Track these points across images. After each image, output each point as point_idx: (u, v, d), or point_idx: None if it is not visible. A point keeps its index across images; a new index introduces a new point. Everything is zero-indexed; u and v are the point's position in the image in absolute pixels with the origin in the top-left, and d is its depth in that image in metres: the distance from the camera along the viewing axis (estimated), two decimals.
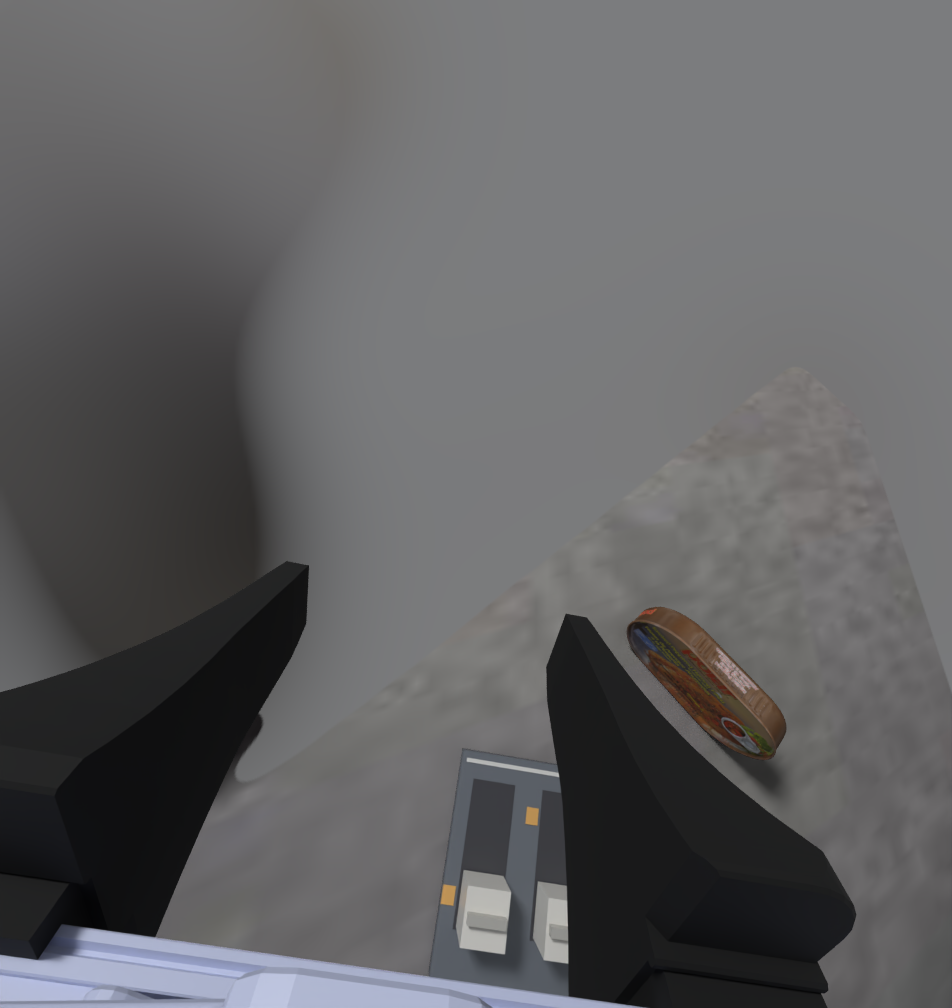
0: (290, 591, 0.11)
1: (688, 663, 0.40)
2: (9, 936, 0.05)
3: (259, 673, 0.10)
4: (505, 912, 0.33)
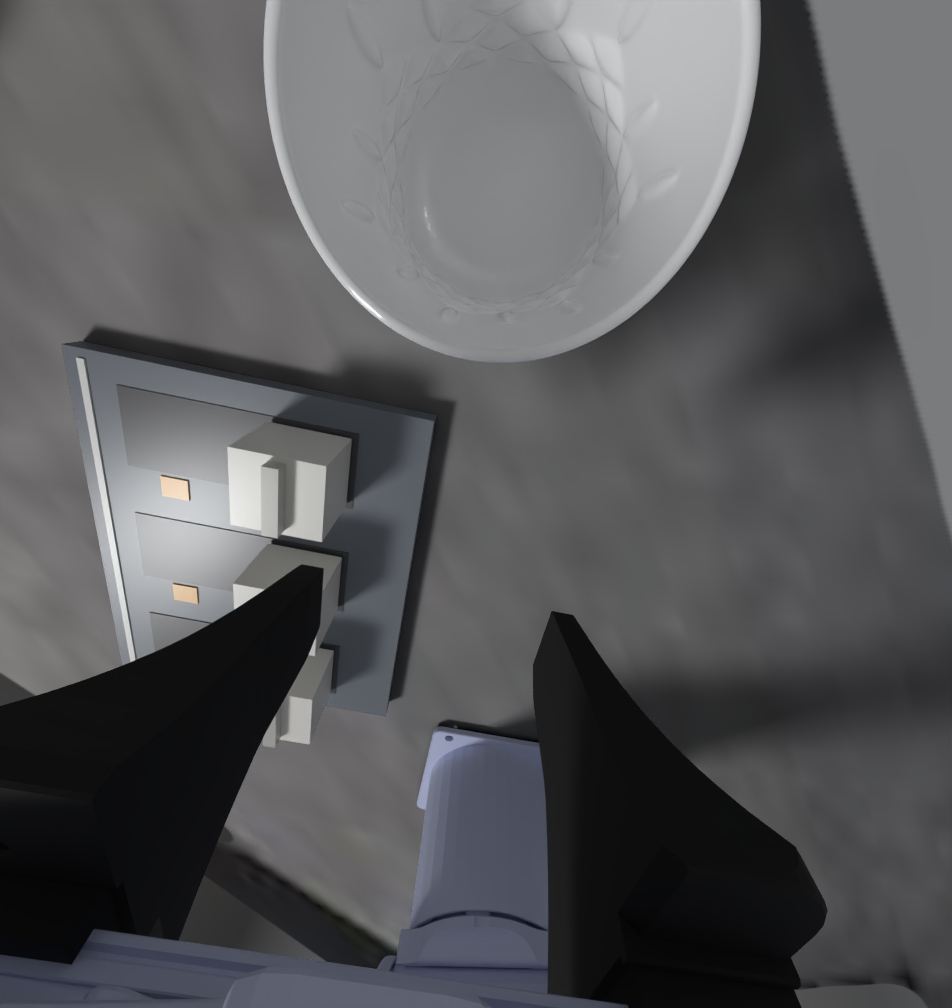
0: (307, 594, 0.11)
1: None
2: (44, 941, 0.05)
3: (277, 676, 0.10)
4: None
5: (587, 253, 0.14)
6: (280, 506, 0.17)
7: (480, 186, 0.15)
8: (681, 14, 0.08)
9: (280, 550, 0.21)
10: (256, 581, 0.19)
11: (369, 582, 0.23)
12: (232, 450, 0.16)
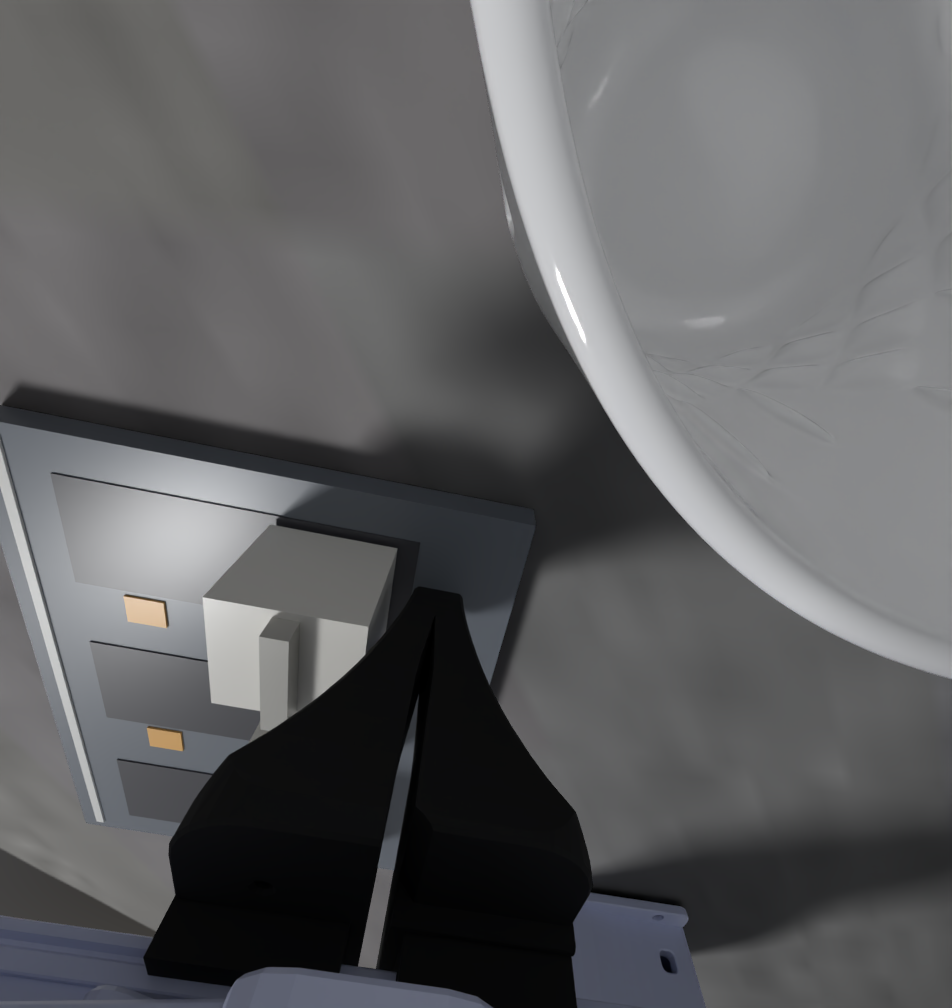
0: None
1: None
2: None
3: (413, 700, 0.11)
4: None
5: (903, 280, 0.07)
6: (291, 686, 0.10)
7: (669, 156, 0.08)
8: None
9: None
10: None
11: None
12: (211, 602, 0.10)
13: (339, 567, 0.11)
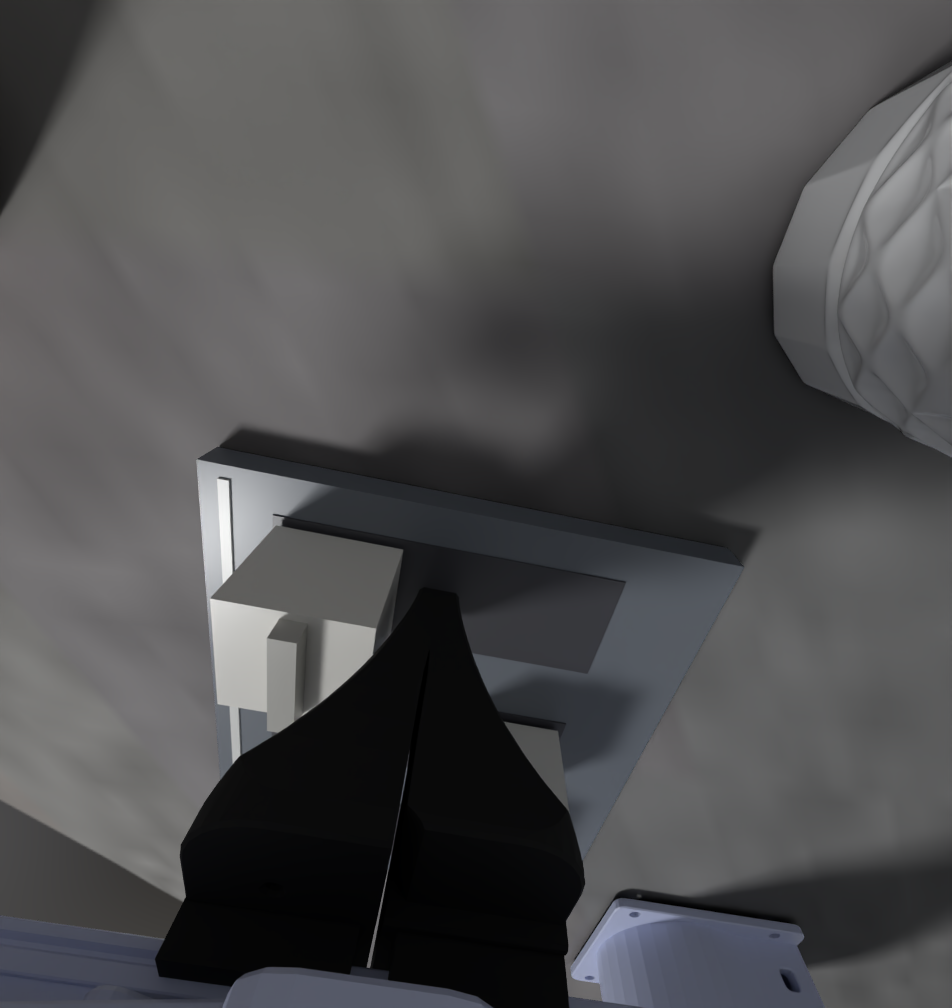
0: None
1: None
2: None
3: None
4: None
5: None
6: (298, 688, 0.10)
7: None
8: None
9: None
10: None
11: (585, 756, 0.16)
12: (218, 604, 0.10)
13: (346, 568, 0.11)
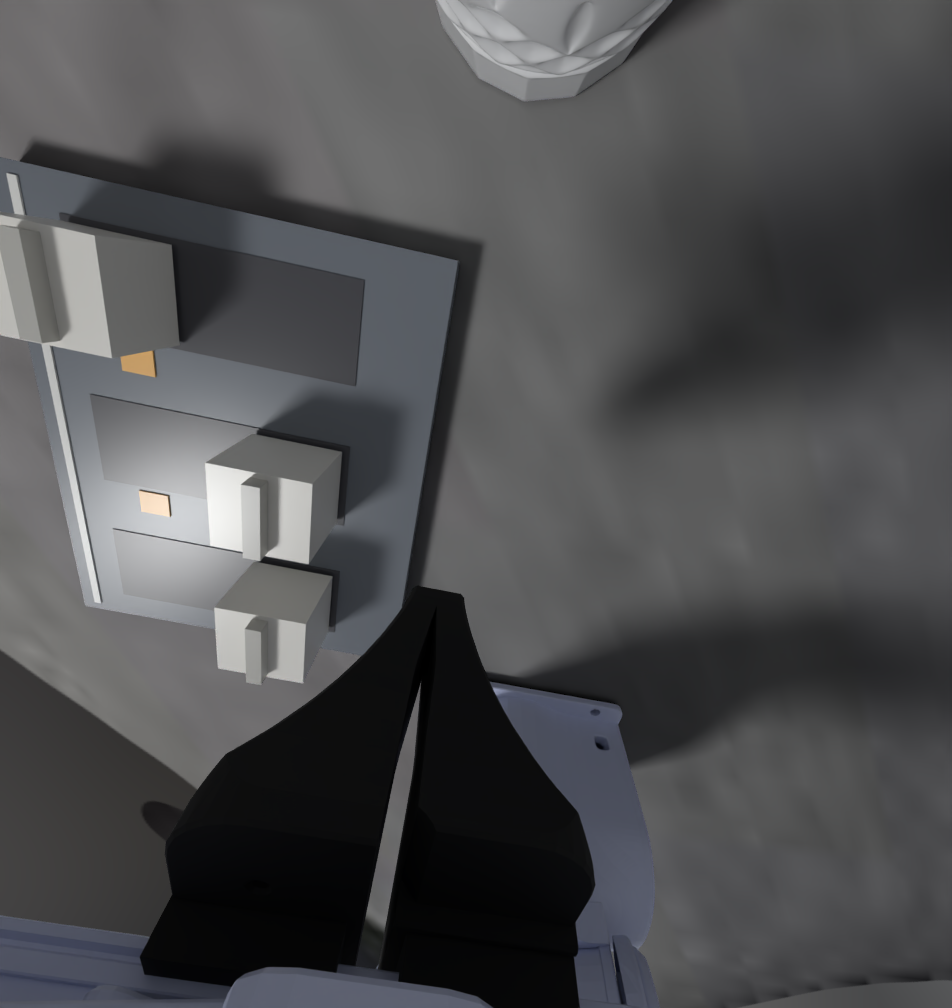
0: (433, 617, 0.11)
1: None
2: None
3: (411, 700, 0.11)
4: (245, 618, 0.18)
5: None
6: (40, 295, 0.13)
7: None
8: None
9: (267, 440, 0.17)
10: (235, 463, 0.15)
11: (375, 486, 0.19)
12: None
13: (102, 232, 0.14)
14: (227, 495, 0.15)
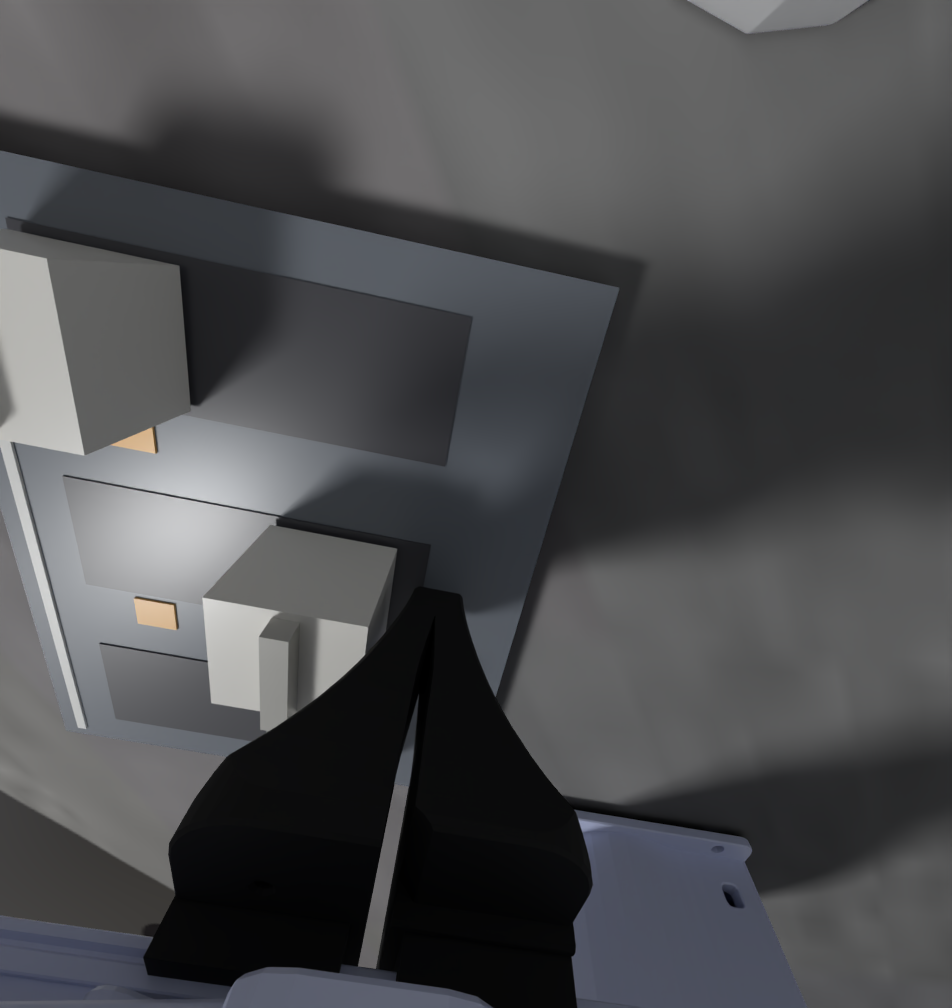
0: (435, 617, 0.11)
1: None
2: None
3: (413, 700, 0.11)
4: None
5: None
6: None
7: None
8: None
9: (291, 536, 0.12)
10: (248, 593, 0.10)
11: (461, 595, 0.13)
12: None
13: (69, 249, 0.09)
14: (237, 640, 0.10)
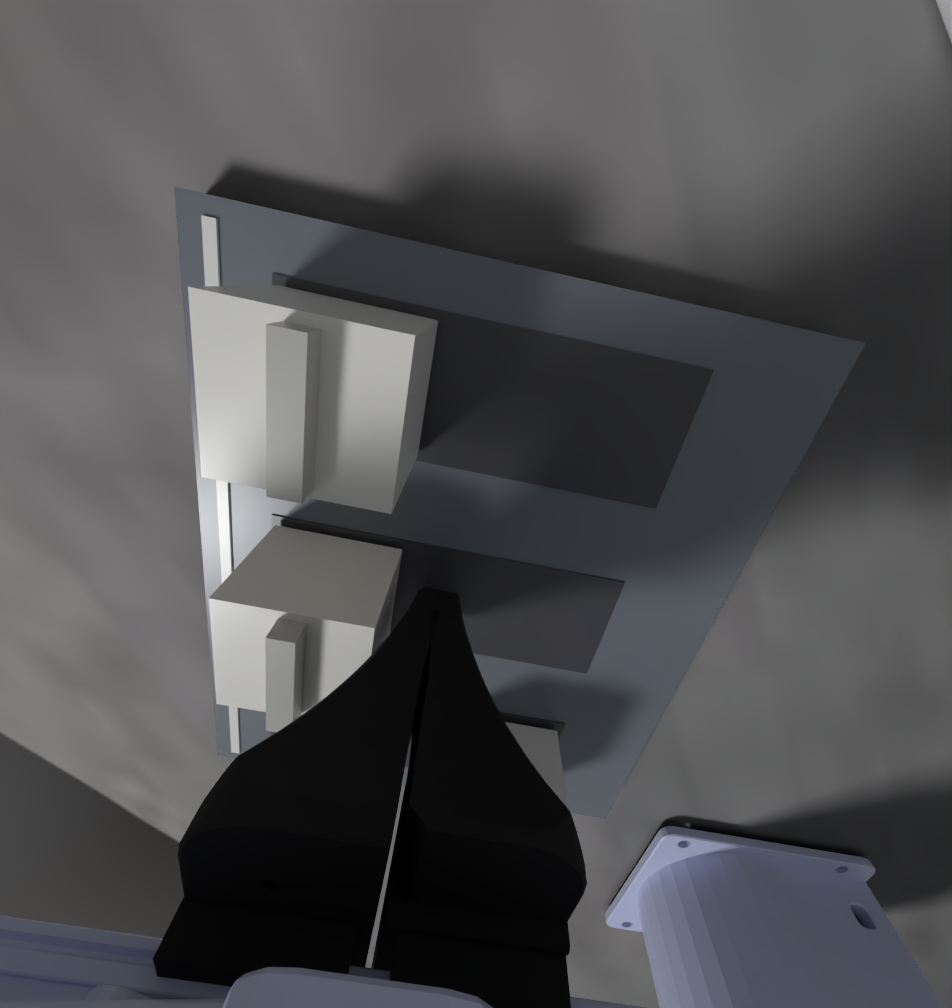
0: None
1: None
2: None
3: (418, 701, 0.11)
4: None
5: None
6: (309, 431, 0.08)
7: None
8: None
9: (297, 537, 0.12)
10: (254, 593, 0.10)
11: (644, 629, 0.14)
12: (200, 296, 0.07)
13: (368, 312, 0.09)
14: (243, 641, 0.10)
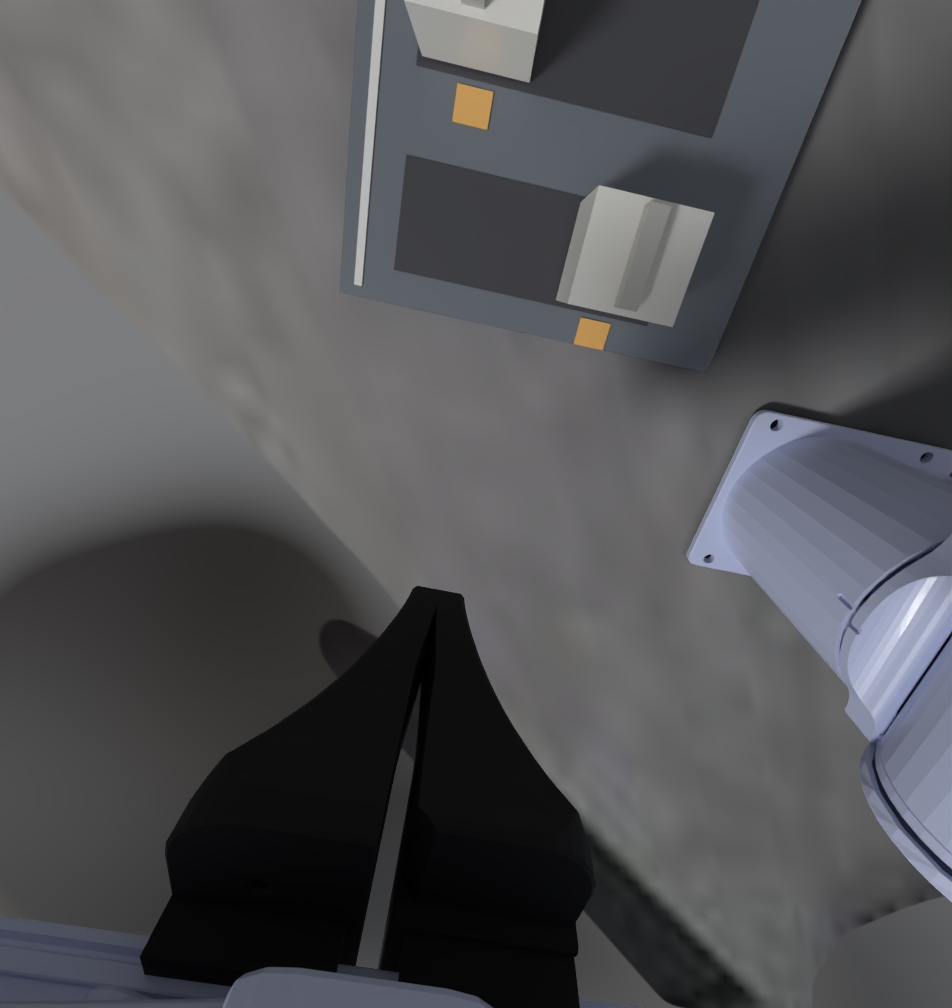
0: (433, 617, 0.11)
1: None
2: None
3: (412, 700, 0.11)
4: (636, 205, 0.13)
5: None
6: None
7: None
8: None
9: None
10: None
11: (773, 66, 0.14)
12: None
13: None
14: None
